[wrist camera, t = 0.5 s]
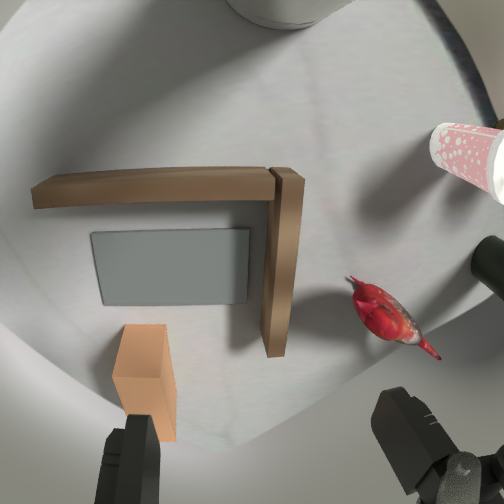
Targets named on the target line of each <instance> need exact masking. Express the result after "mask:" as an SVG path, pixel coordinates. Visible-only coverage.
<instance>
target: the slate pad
mask: <svg viewBox="0 0 504 504" xmlns="http://www.w3.org/2000/svg"><path fill="white" fill-rule="evenodd" d="M249 232H250V229H249V228H213V229H168V230H133V231H105V232H92V233H91V237H92V243H93V249H94V255H95V261H96V266H97V272H98V277H99V282H100V287H101V291H102V296H103V300H104V305H105V306H159V305H209V304H238V303H247V280H248V256H249Z"/></svg>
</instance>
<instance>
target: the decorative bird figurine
mask: <svg viewBox="0 0 504 504" xmlns="http://www.w3.org/2000/svg"><path fill="white" fill-rule="evenodd" d="M350 277H351V278H352V279H353V280H354V281H355V282H356V283H358V285H359V287H358V288H357V289H356V290H355V291H354V293H353V303H354V306H355V308H356V310H357V313H358V315H359V317H360V319H361V320H362V322H363V323H364V324H365V326H366V327H367V328H368V329H369V330H370V331H371V332H372V333H373V334H375V335H376V336H378V337H380V338H381V339H384V340H389V341H391V340H395V341H397V342H400V343H403V344H407V345H418V346H420V347H422V348H423V349H424V350H426V351H427V352H428V353H429V354H431V355H432V356H433V357H435V358H437V359H438V360H441V357H440V356H439V355H438V354H437V353H436V351H435V350H434V349H433V348H432V347H431V346H430V345H429V344H428V343H427V342H426V340H425V339H424V338H423V336H422V334H421V331H420V329H419V327H418V326H417V324H416V323H415V321H414V320H413V318H412V317H411V316H410V314H409V313H408V312H407V311H406V310H405V308H404V307H403V306H402V305H401V304H400V303H399V302H398V301H397V300H396V299H395V298H393V297H392V296H391V295H390V294H388V293H387V292H386V291H384V290H383V289H381V288H379V287H377V286H375V285H372V284H365V283H364V282H360V281H358V280H357V279H355V278H353V277H352V276H350Z"/></svg>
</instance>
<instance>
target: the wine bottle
mask: <svg viewBox="0 0 504 504" xmlns="http://www.w3.org/2000/svg"><path fill="white" fill-rule="evenodd" d="M471 270H472V273H473V275H474V276H475V277H476V278H477V279H479V280H480V281H481V282H482V283H483V284H485V285H486V286H487V287H488V288H489V289H490V290H492V291H493V292H494V293H495V294H496V295H498V296H499V297H500V298H501V299H502V300H503V301H504V241H503V240H501V239H500V238H498V237H496V236H489V237H487V238H485V239H484V240H483V241H482V242H481V243H480V244H479V246H478V247H477V249H476V251H475V253H474V255H473V258H472V263H471Z"/></svg>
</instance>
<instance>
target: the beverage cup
mask: <svg viewBox="0 0 504 504" xmlns="http://www.w3.org/2000/svg"><path fill="white" fill-rule="evenodd" d="M430 154H431V157H432V160H433V161H434V162H435V164H436V165H437V166H438V167H440V168H442V169H444V170H447V171H449V172H451V173H453V174H454V175H456V176H458V177H460V178H462V179H464V180H466V181H468V182H470V183H472V184H474V185H475V186H477V187H479V188H481V189H483V190H484V191H486V192H488V193H490V194H491V195H492V197H493V199H494V200H496V201H498V202H500V203H501V204H503V205H504V130H499V129H493V128H486V127H479V126H471V125H463V124H454V123H442V124H440V125H438V126H437V127H436V128H435V130H434V131H433V133H432V135H431V139H430Z"/></svg>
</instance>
